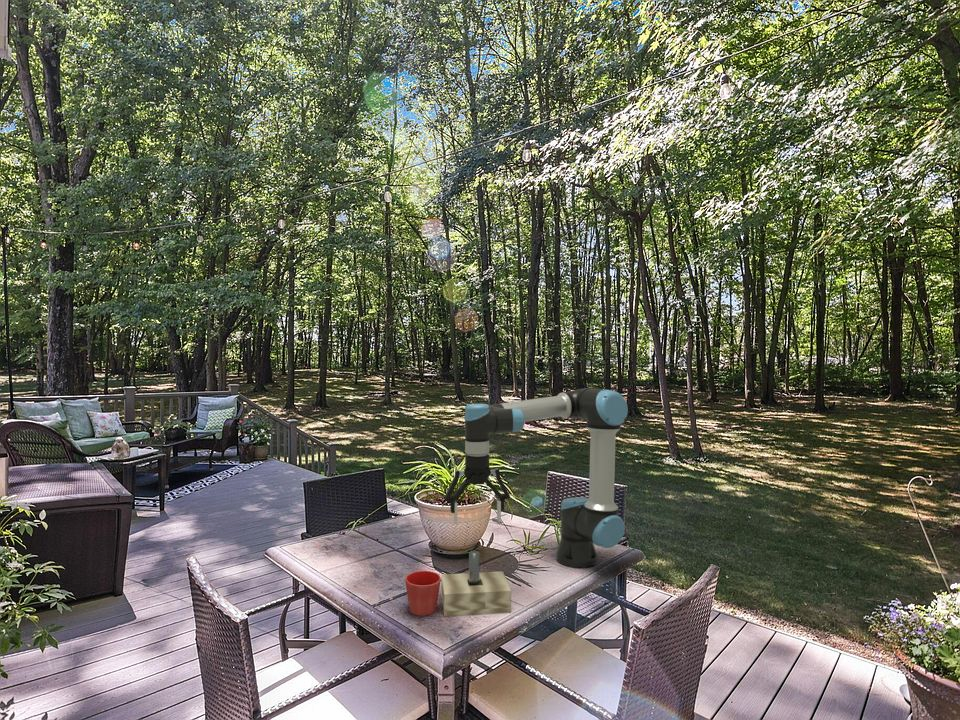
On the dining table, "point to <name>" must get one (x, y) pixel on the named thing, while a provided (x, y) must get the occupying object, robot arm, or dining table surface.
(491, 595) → the block
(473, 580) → the pin
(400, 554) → the dining table surface
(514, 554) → the dining table surface
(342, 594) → the dining table surface
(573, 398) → the robot arm
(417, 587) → the flower pot
